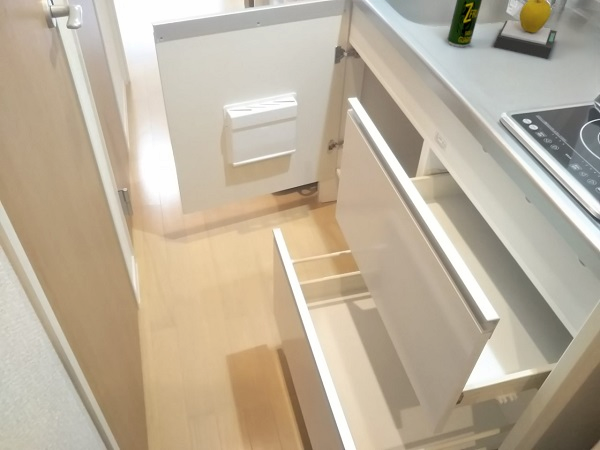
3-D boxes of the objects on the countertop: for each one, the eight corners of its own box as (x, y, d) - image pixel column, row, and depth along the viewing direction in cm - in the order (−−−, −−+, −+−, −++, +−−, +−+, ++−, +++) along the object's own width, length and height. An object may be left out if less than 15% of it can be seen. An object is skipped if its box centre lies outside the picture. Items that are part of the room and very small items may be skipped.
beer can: (442, 40, 123) (454, -13, 115) (459, 36, 125) (472, -16, 117) (457, 49, 120) (470, -4, 111) (474, 45, 122) (489, -8, 113)
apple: (516, 23, 124) (527, -11, 119) (544, 28, 123) (556, -6, 117) (513, 33, 120) (525, -2, 114) (542, 39, 118) (555, 3, 113)
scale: (553, 41, 125) (558, 28, 123) (547, 58, 118) (552, 45, 116) (502, 30, 129) (506, 18, 127) (494, 46, 122) (498, 33, 119)
